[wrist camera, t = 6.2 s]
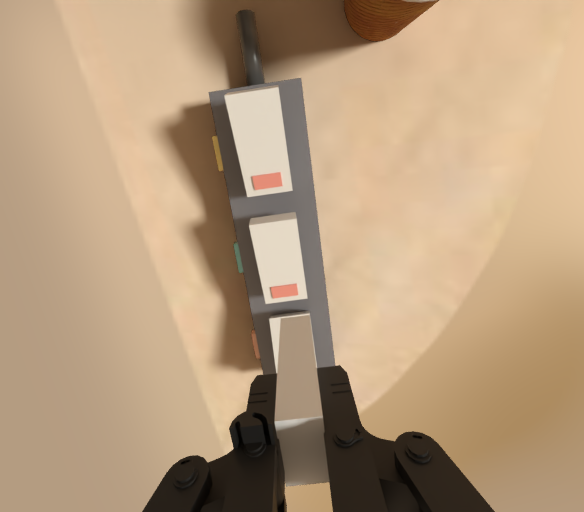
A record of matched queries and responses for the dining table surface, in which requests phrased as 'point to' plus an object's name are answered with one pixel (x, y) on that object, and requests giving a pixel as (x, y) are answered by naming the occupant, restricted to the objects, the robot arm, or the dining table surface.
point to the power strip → (274, 206)
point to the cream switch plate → (279, 257)
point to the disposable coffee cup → (383, 16)
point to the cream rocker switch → (276, 331)
